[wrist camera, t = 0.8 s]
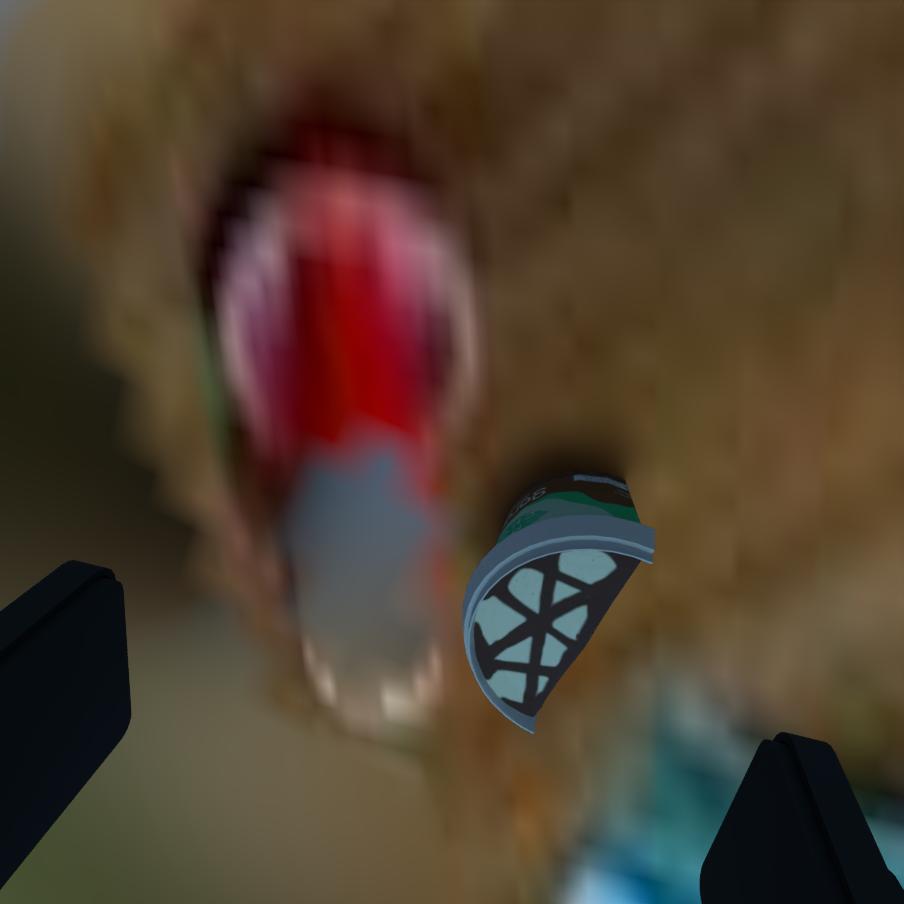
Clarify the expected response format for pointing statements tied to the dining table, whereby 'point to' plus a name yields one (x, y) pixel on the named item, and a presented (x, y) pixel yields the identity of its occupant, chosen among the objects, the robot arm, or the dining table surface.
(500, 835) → the dining table surface
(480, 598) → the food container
